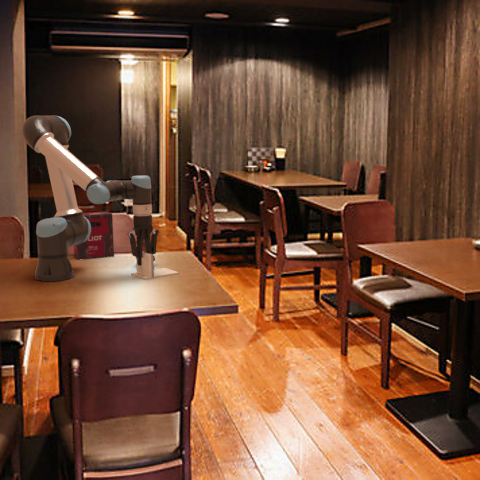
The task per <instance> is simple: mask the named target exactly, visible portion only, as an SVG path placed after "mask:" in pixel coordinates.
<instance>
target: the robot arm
mask: <svg viewBox="0 0 480 480" xmlns="http://www.w3.org/2000/svg"><path fill="white" fill-rule="evenodd" d="M21 135H22V138H23V140H24V141H25V143H26V144H27V145H28V146H29V147H30V148H31V149H32V150H33V151H35V152H36V154H37V153H38V154H42V155H43V156H44V157H45V161H46V167H47V171H48V175H49V176H48V177H49V180H50V184H51V190H52V194H53V198H54V203H55V209H56V213H55V215H54V216H53V217H50V218H43V219H40V221H38V222H37V224H36V230H35V234H36V243H37V257H38V258H37V263H36V267H35V271H34V279H35V280H36V279H37V280H36V281H39V280H41V282H57V281H65V280H69V279H71V278H74V276H75V273H74V269H73V265H72V263H71V261H70V259H69V248H70V247H74V245H79V244H81V243H83V242H85V241H86V240H87V239H88V238H89V236H90V234H91V225H90V222H89V220H88V219H86V217H84V216H83V213H84V212H83V210H82V209H80V208H79V207H78V201H77V197H76V192H75V188H74V183H76V185H78V187H80V188H81V189H82V190H83V191H85V192H86V197H87V199H88V200H89V202H90V203H92V204H94V205H95V204H96V205H103V204H106V203H108V202H109V203H110V202H115V201H119V200H132V215H133V216H132V221H133V223H132V224H133V229H132V231H131V232H128V233H127V236H128V238H129V242H130V244H129V245H130V250H131V255H132V257H135V258H136V257H137V261H136V265H137V264H138V265H139V273H142V274H144V258H143V257H142V247H143V240H145V247H146V253H150V254H153V255H156V253H157V244H158V243H157V242H158V235H159V233H160V231H159V230H158V229H155V228H154V226H153V215H152V214H153V207H152V204H153V203H152V182H151V181H152V180H151V177H150V176H149V175H144V174H143V175H133V176H131V180H118V179H113V180H107V181H104V179H102V178H100V177H99V176H98V175H97V174H96V173H95V172H94V171H92V170H91V169H90V168H89V167H88V166H87V165H86V164H85V163H83V162H82V161H81V160H80V159H78V158H77V157H76V156H75V155H74V154H73V153H72V152H70V150H69V147H70V145H69V141H70V139H71V136H72V130H71V126H70V124H69V122H68V121H67V120H66V119H65V118H63V117H61V116H58V115H53V114H51V115H32V116H30V117H28V118H26V120H25V121H24V122H23V124H22V126H21ZM73 182H74V183H73ZM151 233H152V236H151V238H150V234H151ZM150 239H151V243H150ZM136 240H137V244H136Z"/></svg>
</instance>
